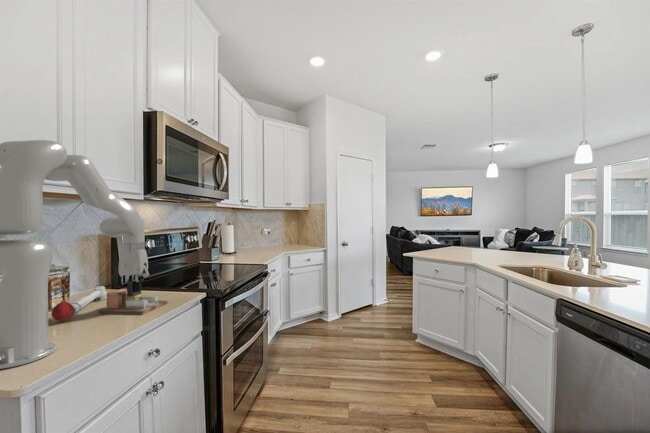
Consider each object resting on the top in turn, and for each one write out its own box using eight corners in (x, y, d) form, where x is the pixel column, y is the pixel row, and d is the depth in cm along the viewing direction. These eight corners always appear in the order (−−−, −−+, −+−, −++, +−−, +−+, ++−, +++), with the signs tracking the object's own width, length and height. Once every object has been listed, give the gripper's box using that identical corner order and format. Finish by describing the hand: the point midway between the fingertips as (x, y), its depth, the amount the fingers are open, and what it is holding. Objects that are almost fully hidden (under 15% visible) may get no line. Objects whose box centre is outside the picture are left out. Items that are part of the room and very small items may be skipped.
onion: (54, 326, 95) (54, 303, 95) (49, 322, 98) (49, 300, 98) (76, 320, 100) (76, 298, 100) (70, 317, 103) (70, 296, 103)
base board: (142, 314, 106) (142, 311, 106) (98, 313, 108) (98, 310, 108) (167, 303, 119) (167, 300, 119) (128, 302, 122) (128, 299, 122)
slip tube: (133, 303, 111) (133, 281, 111) (113, 303, 112) (113, 281, 112) (142, 300, 116) (141, 279, 116) (122, 300, 117) (122, 279, 117)
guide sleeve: (144, 308, 109) (143, 301, 109) (125, 308, 110) (125, 300, 110) (158, 302, 117) (158, 295, 117) (141, 302, 117) (140, 295, 118)
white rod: (60, 307, 105) (96, 283, 129) (61, 323, 106) (97, 296, 130) (76, 305, 106) (109, 282, 130) (78, 321, 107) (110, 295, 131)
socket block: (118, 308, 110) (117, 293, 110) (106, 307, 111) (106, 293, 111) (133, 302, 118) (133, 288, 118) (123, 301, 118) (123, 288, 118)
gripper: (108, 248, 111) (108, 293, 111) (144, 248, 109) (145, 294, 109) (123, 246, 118) (124, 288, 118) (158, 246, 117) (158, 289, 116)
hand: (134, 290), depth 114 cm, fingers open, 2 cm apart
